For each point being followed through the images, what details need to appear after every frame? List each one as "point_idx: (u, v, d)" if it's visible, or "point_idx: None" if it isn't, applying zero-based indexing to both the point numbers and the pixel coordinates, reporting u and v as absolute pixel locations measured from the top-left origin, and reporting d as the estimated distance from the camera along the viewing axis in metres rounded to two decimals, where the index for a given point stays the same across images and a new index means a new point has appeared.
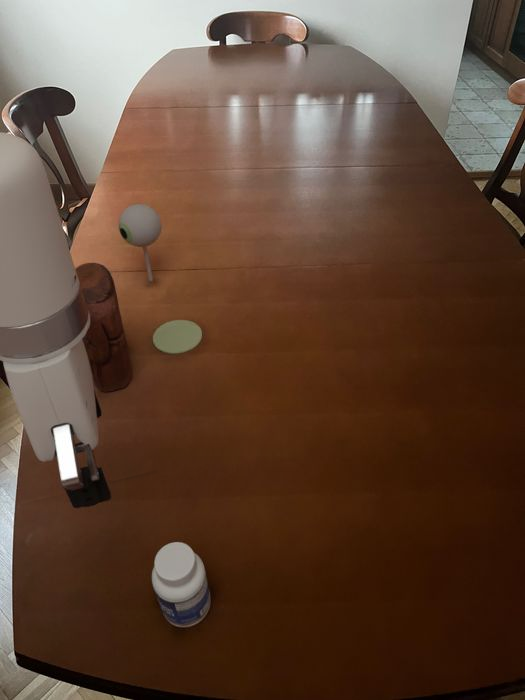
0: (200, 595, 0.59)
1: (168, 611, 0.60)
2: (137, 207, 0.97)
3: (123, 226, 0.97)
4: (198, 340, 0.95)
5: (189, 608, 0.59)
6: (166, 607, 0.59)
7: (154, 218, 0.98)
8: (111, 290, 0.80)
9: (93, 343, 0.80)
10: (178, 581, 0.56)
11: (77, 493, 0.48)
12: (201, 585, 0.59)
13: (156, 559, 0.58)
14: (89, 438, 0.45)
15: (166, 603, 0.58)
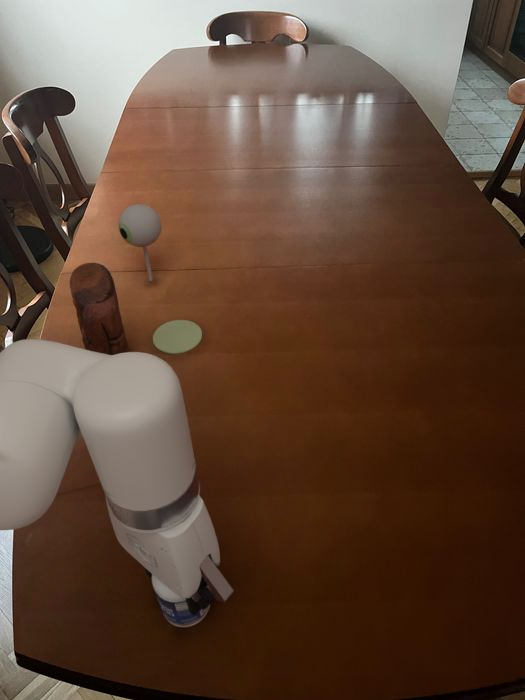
0: None
1: (168, 611, 0.60)
2: (137, 207, 0.97)
3: (123, 226, 0.97)
4: (198, 340, 0.95)
5: None
6: (166, 607, 0.59)
7: (154, 218, 0.98)
8: (111, 290, 0.80)
9: (93, 343, 0.80)
10: None
11: (202, 600, 0.57)
12: None
13: None
14: None
15: (166, 603, 0.58)
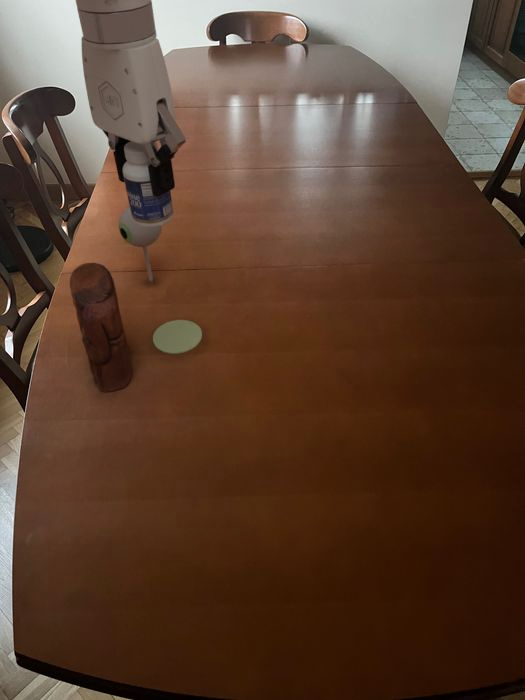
0: None
1: (136, 201, 0.72)
2: None
3: (123, 226, 0.97)
4: (198, 340, 0.95)
5: (153, 195, 0.72)
6: (134, 194, 0.72)
7: None
8: (111, 290, 0.80)
9: (93, 343, 0.80)
10: (143, 155, 0.69)
11: (162, 173, 0.69)
12: None
13: (125, 145, 0.70)
14: None
15: (134, 186, 0.71)
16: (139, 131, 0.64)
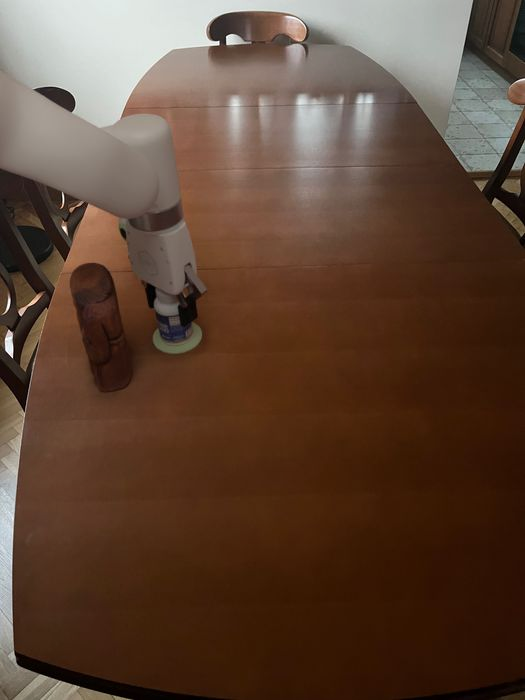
0: None
1: (164, 328, 0.91)
2: None
3: (123, 226, 0.97)
4: (198, 340, 0.95)
5: (178, 324, 0.91)
6: (163, 324, 0.91)
7: None
8: (111, 290, 0.80)
9: (93, 343, 0.80)
10: (170, 297, 0.88)
11: (188, 311, 0.88)
12: None
13: (156, 287, 0.89)
14: None
15: (163, 318, 0.90)
16: (170, 287, 0.83)
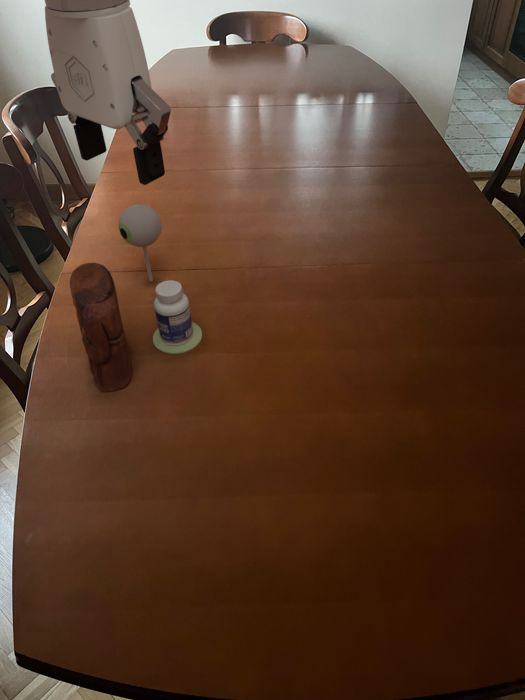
0: (185, 316, 0.91)
1: (164, 328, 0.91)
2: (137, 207, 0.97)
3: (123, 226, 0.97)
4: (198, 340, 0.95)
5: (178, 324, 0.91)
6: (163, 324, 0.91)
7: (154, 218, 0.98)
8: (111, 290, 0.80)
9: (93, 343, 0.80)
10: (170, 297, 0.88)
11: (149, 157, 0.60)
12: (186, 307, 0.90)
13: (156, 287, 0.89)
14: None
15: (163, 318, 0.90)
16: (112, 113, 0.57)
